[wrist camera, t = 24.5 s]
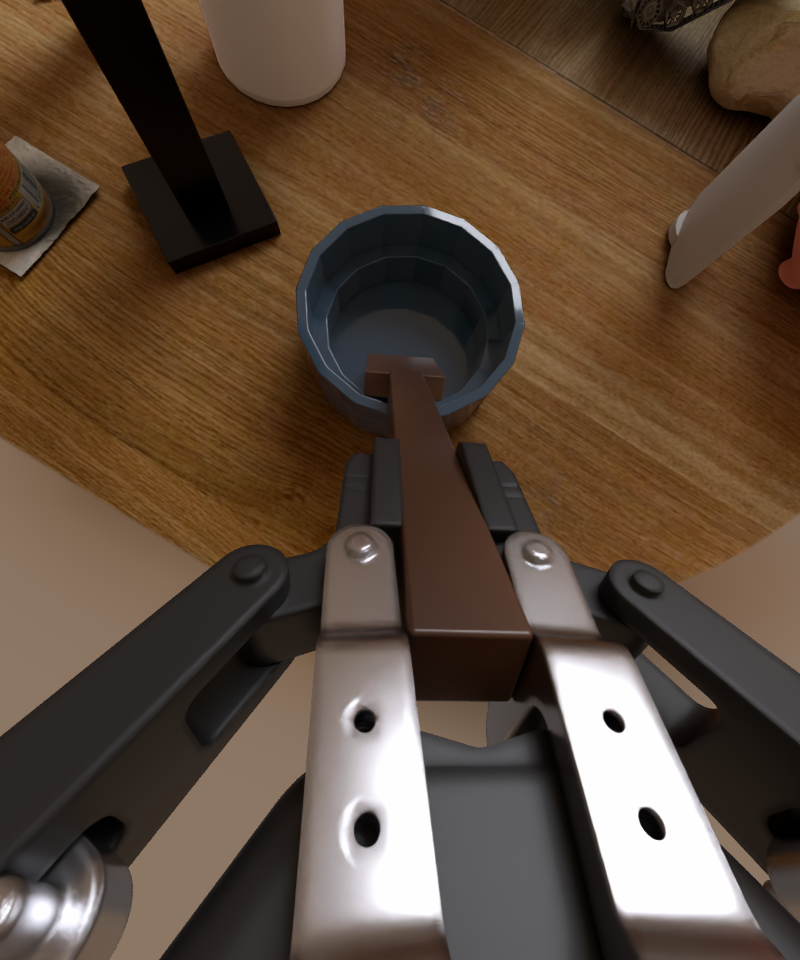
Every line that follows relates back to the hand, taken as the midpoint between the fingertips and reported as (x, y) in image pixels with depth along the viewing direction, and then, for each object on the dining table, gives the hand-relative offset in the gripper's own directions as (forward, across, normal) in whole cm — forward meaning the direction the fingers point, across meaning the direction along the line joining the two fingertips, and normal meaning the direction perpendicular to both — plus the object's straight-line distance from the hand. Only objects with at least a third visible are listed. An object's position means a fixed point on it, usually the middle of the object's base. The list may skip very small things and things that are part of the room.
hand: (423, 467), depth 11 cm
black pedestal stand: (+25, +14, -4) cm, 29 cm away
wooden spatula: (+5, 0, +2) cm, 5 cm away
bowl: (+18, 0, +3) cm, 18 cm away
